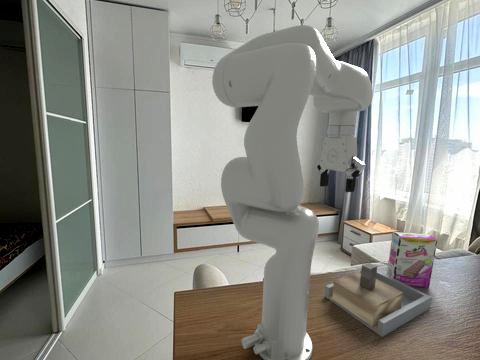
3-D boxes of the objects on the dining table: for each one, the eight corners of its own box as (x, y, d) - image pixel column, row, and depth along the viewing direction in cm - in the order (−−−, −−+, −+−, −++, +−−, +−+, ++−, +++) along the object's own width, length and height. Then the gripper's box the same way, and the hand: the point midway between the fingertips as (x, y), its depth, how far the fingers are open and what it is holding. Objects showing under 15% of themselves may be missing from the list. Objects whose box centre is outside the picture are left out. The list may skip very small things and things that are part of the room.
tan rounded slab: (372, 327, 60) (377, 282, 58) (331, 298, 71) (335, 260, 69) (400, 311, 66) (406, 271, 64) (359, 287, 76) (363, 252, 75)
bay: (381, 336, 58) (383, 323, 58) (325, 296, 73) (326, 285, 72) (429, 308, 69) (431, 296, 68) (371, 278, 83) (373, 268, 83)
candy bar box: (393, 286, 79) (399, 236, 77) (385, 277, 84) (391, 231, 82) (430, 289, 78) (438, 239, 76) (420, 280, 83) (428, 233, 81)
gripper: (310, 132, 80) (307, 185, 83) (358, 131, 65) (352, 195, 68) (327, 133, 84) (323, 183, 86) (376, 132, 69) (369, 193, 72)
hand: (336, 188), depth 77 cm, fingers open, 9 cm apart
